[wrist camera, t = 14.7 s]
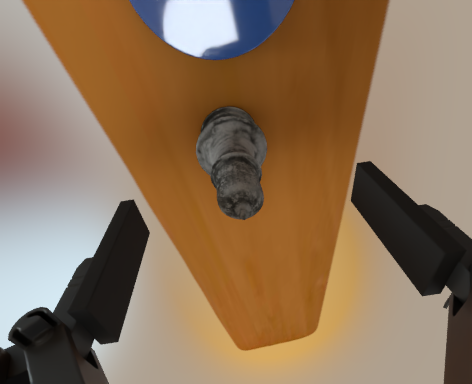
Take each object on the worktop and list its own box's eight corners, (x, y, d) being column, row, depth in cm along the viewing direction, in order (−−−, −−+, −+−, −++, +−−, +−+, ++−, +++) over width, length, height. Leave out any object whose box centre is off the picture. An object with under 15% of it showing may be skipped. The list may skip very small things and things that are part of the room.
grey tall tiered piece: (215, 90, 21) (222, 153, 11) (271, 122, 23) (319, 199, 13) (187, 147, 24) (173, 238, 14) (239, 171, 26) (260, 265, 16)
